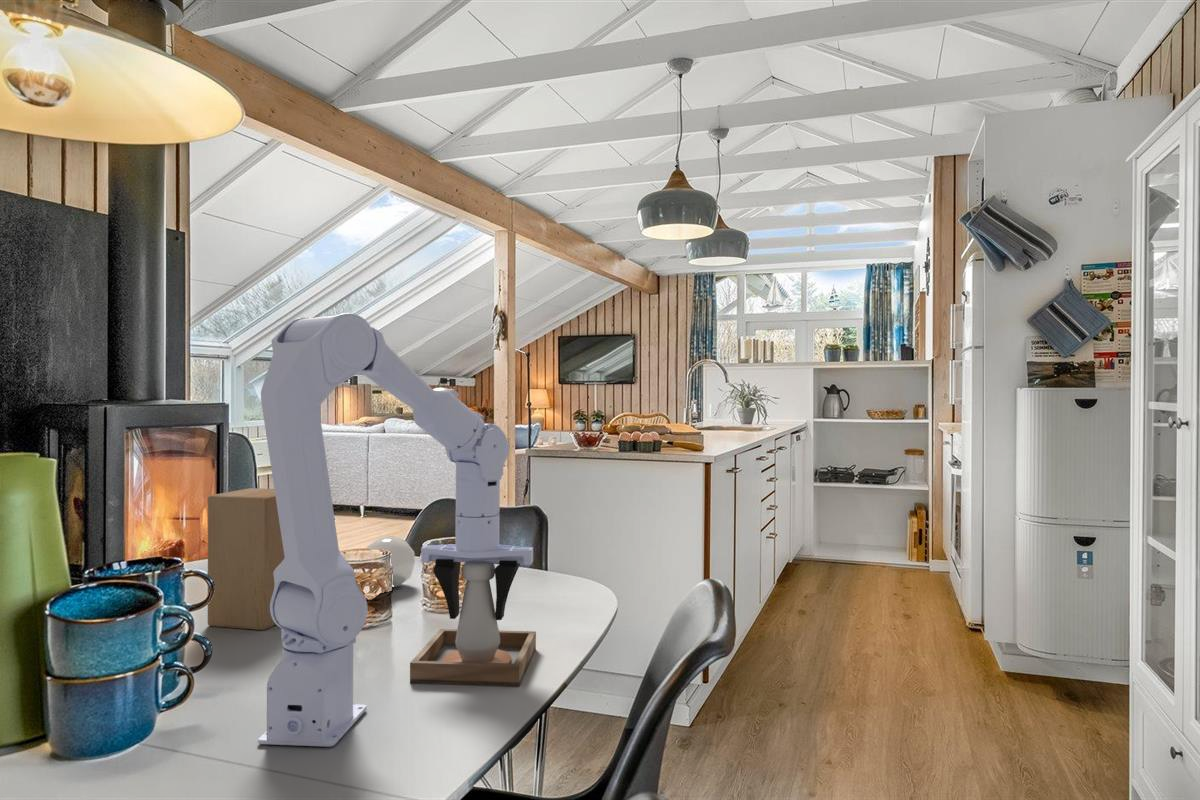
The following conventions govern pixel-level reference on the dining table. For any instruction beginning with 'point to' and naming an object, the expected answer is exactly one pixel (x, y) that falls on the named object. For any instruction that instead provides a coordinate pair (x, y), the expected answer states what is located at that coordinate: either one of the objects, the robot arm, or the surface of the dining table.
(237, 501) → the wooden block
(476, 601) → the salt shaker
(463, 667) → the square wooden serving tray
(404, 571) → the white rounded ovoid
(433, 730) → the dining table surface
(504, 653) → the coaster
